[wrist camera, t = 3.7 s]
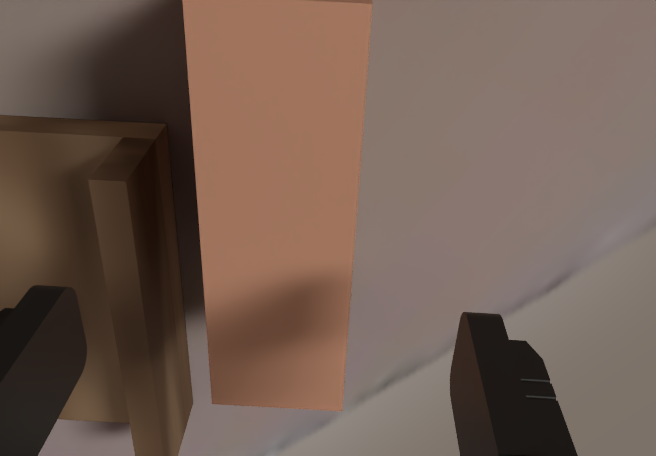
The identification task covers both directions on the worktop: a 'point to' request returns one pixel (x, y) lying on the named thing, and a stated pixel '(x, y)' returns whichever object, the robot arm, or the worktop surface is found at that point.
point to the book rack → (103, 263)
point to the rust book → (277, 191)
